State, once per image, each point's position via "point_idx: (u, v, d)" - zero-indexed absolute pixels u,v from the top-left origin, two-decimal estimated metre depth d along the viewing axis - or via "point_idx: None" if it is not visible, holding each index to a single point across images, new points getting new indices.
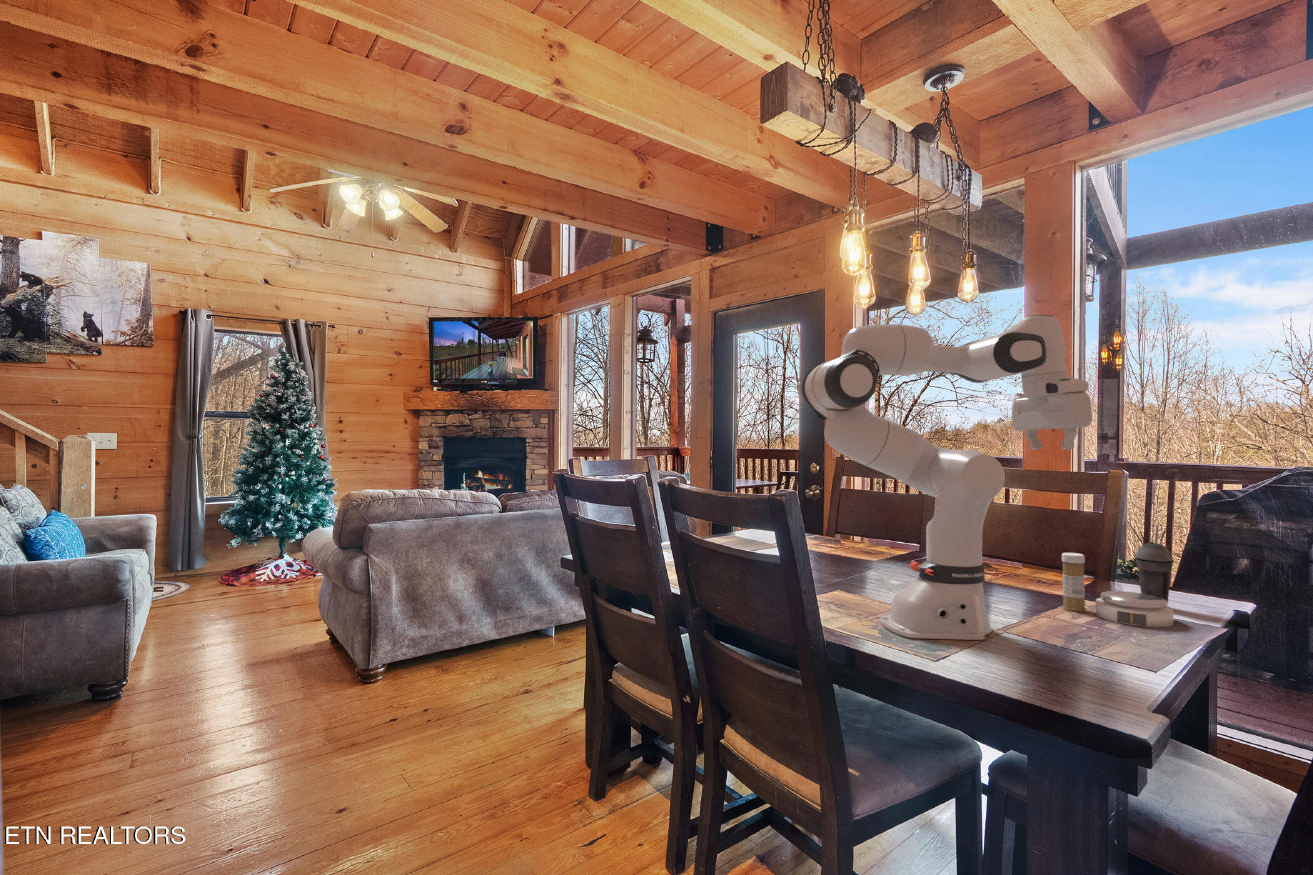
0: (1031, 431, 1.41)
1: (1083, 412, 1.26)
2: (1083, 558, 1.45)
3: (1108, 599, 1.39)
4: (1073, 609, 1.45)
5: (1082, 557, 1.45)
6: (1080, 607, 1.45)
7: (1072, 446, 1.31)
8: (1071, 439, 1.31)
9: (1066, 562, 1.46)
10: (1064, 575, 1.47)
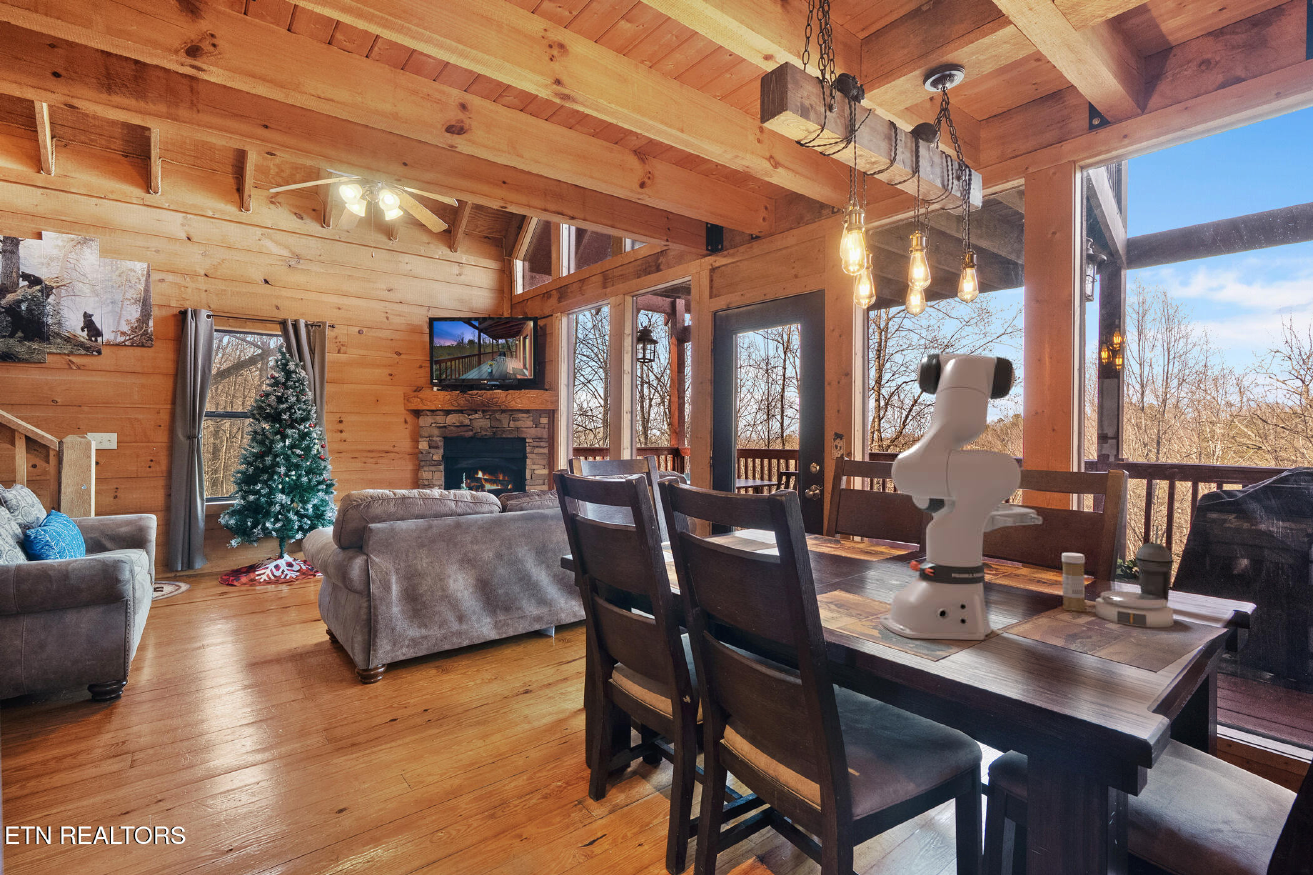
0: None
1: None
2: (1083, 558, 1.45)
3: (1108, 599, 1.39)
4: (1073, 609, 1.45)
5: (1082, 557, 1.45)
6: (1080, 607, 1.45)
7: None
8: None
9: (1066, 562, 1.46)
10: (1064, 575, 1.47)
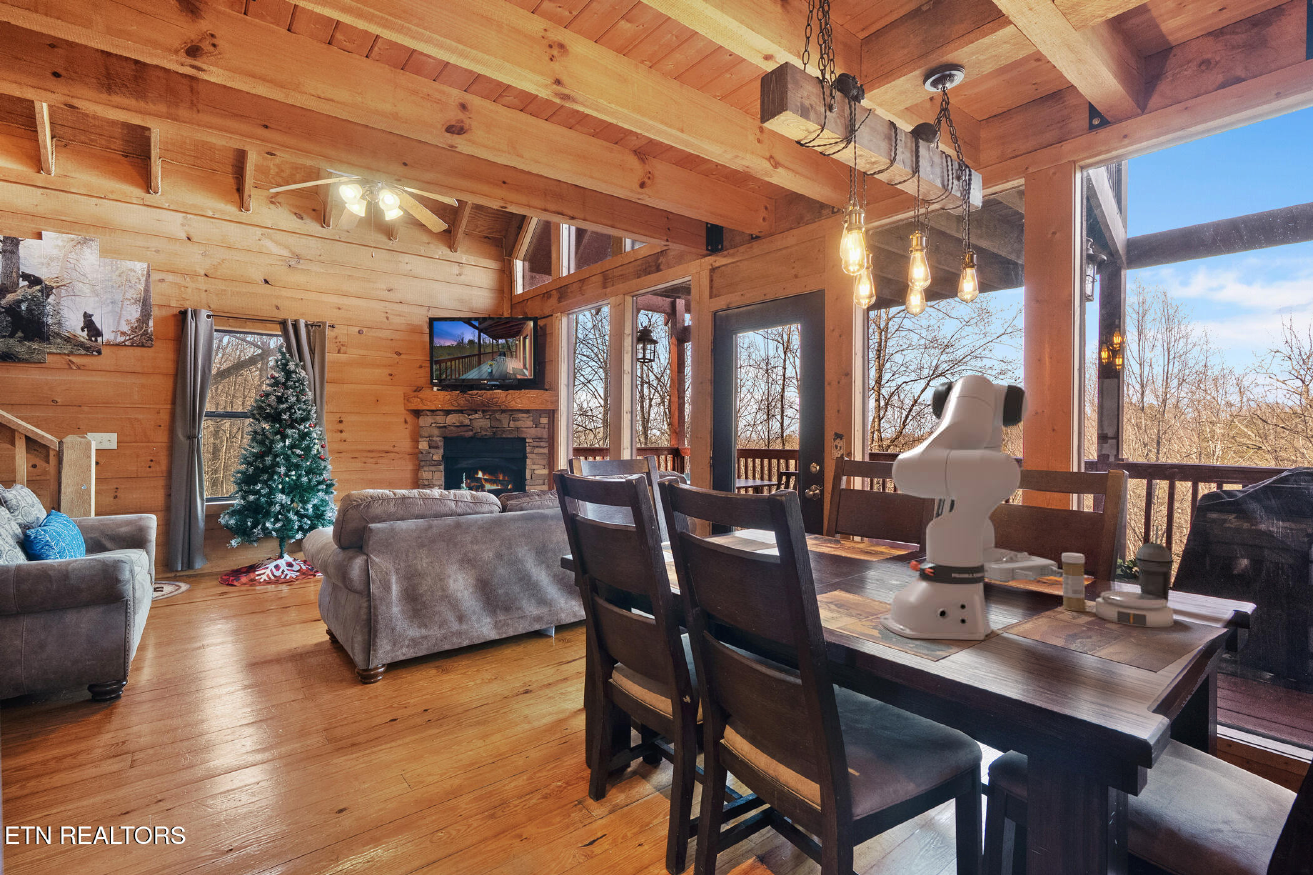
0: None
1: None
2: (1083, 558, 1.45)
3: (1108, 599, 1.39)
4: (1073, 609, 1.45)
5: (1082, 557, 1.45)
6: (1080, 607, 1.45)
7: None
8: None
9: (1066, 562, 1.46)
10: (1064, 575, 1.47)
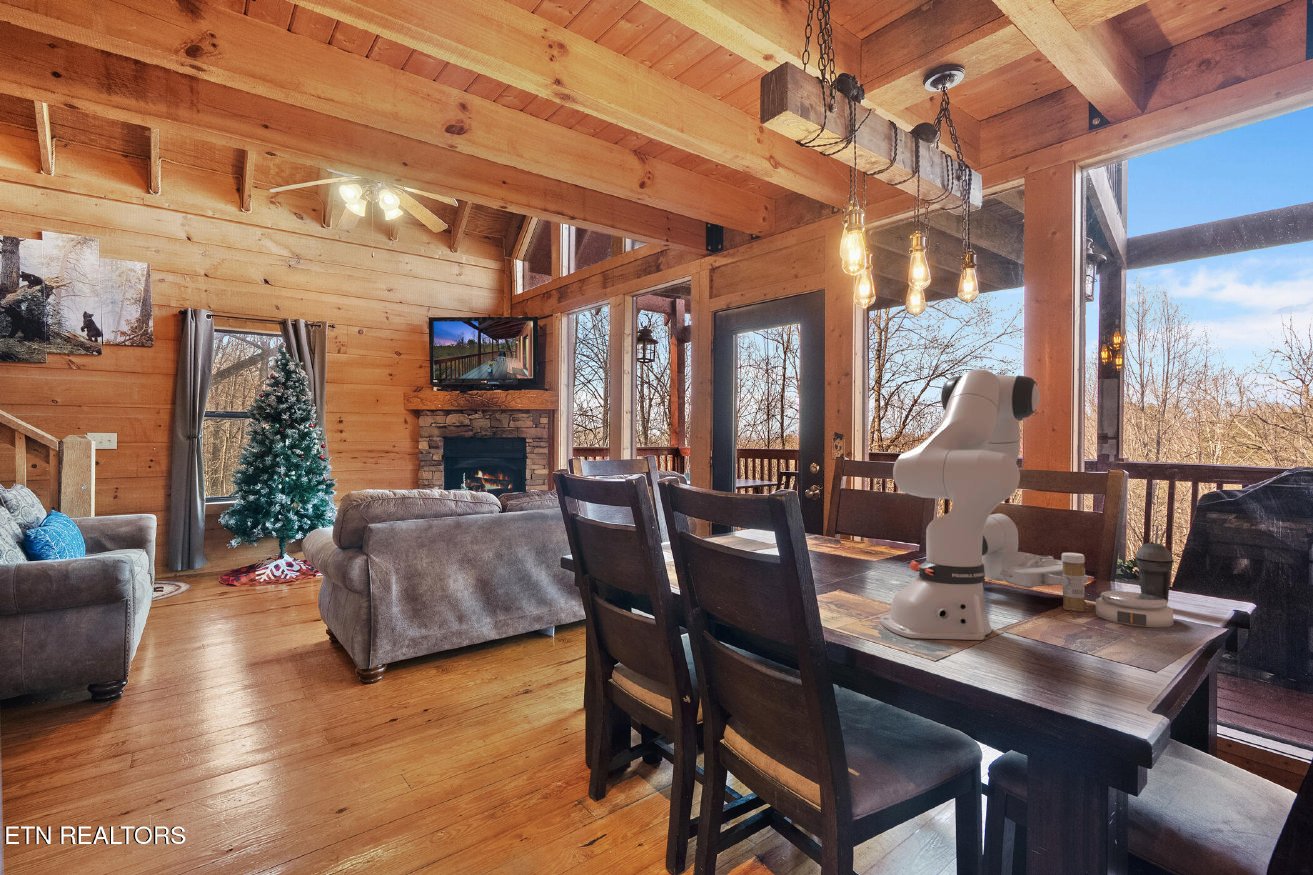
0: None
1: None
2: (1083, 558, 1.45)
3: (1108, 599, 1.39)
4: (1073, 609, 1.45)
5: (1082, 557, 1.45)
6: (1080, 607, 1.45)
7: None
8: None
9: (1066, 562, 1.46)
10: (1064, 575, 1.47)
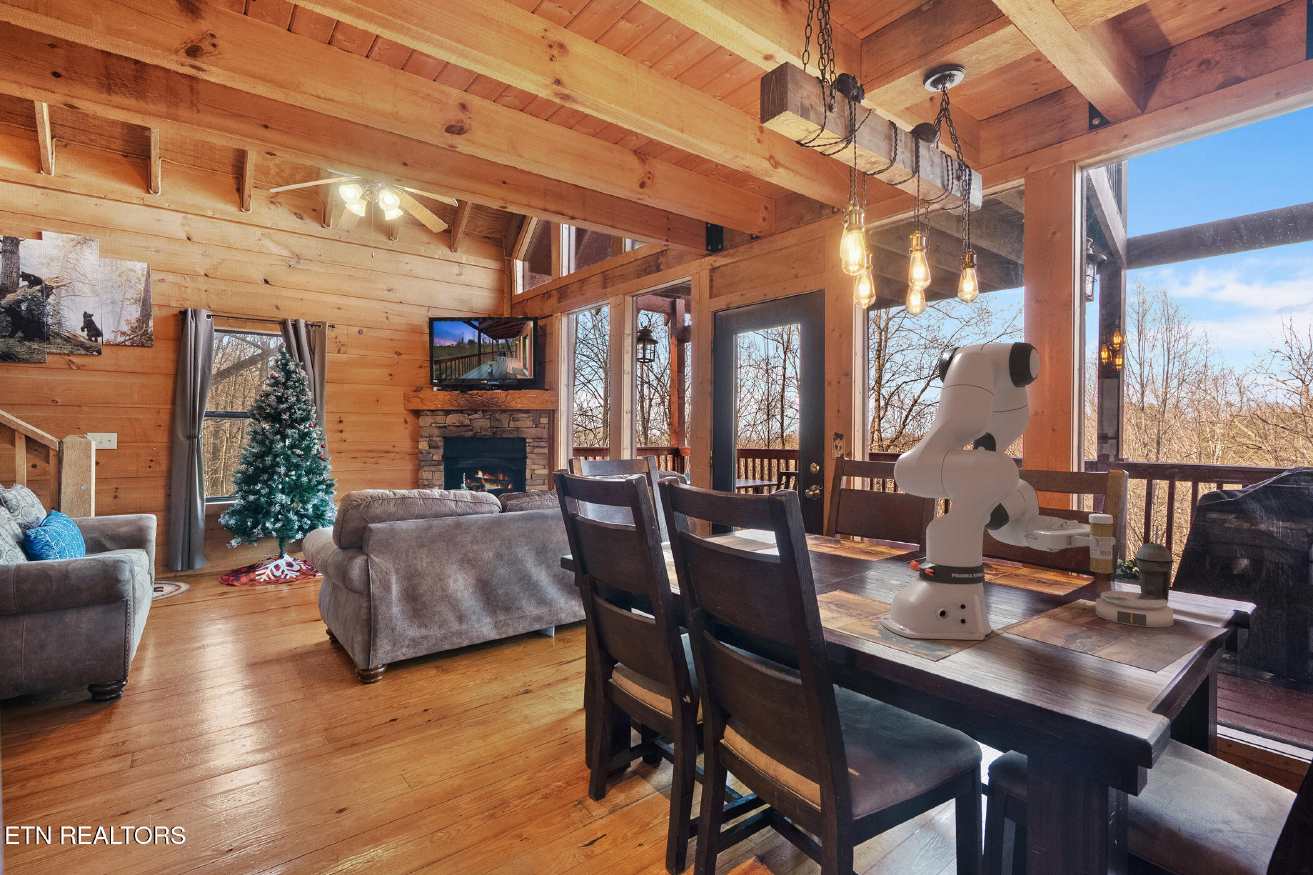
0: None
1: None
2: (1111, 518, 1.42)
3: (1108, 599, 1.39)
4: (1101, 571, 1.42)
5: (1110, 517, 1.42)
6: (1108, 568, 1.42)
7: None
8: None
9: (1094, 523, 1.43)
10: (1091, 536, 1.44)
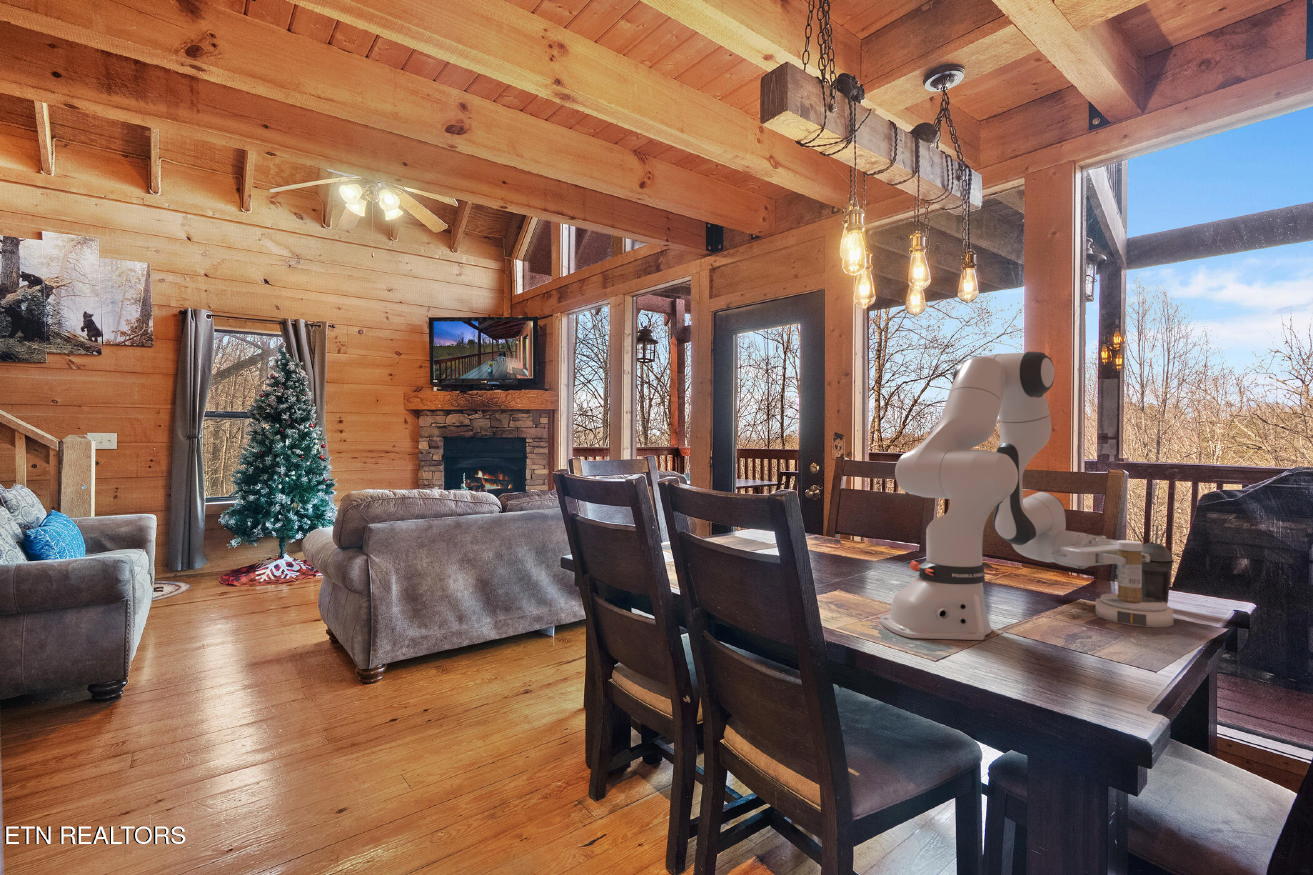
0: None
1: None
2: (1141, 546, 1.38)
3: (1108, 601, 1.39)
4: (1130, 599, 1.38)
5: (1140, 545, 1.37)
6: (1137, 597, 1.37)
7: None
8: None
9: (1123, 550, 1.39)
10: None
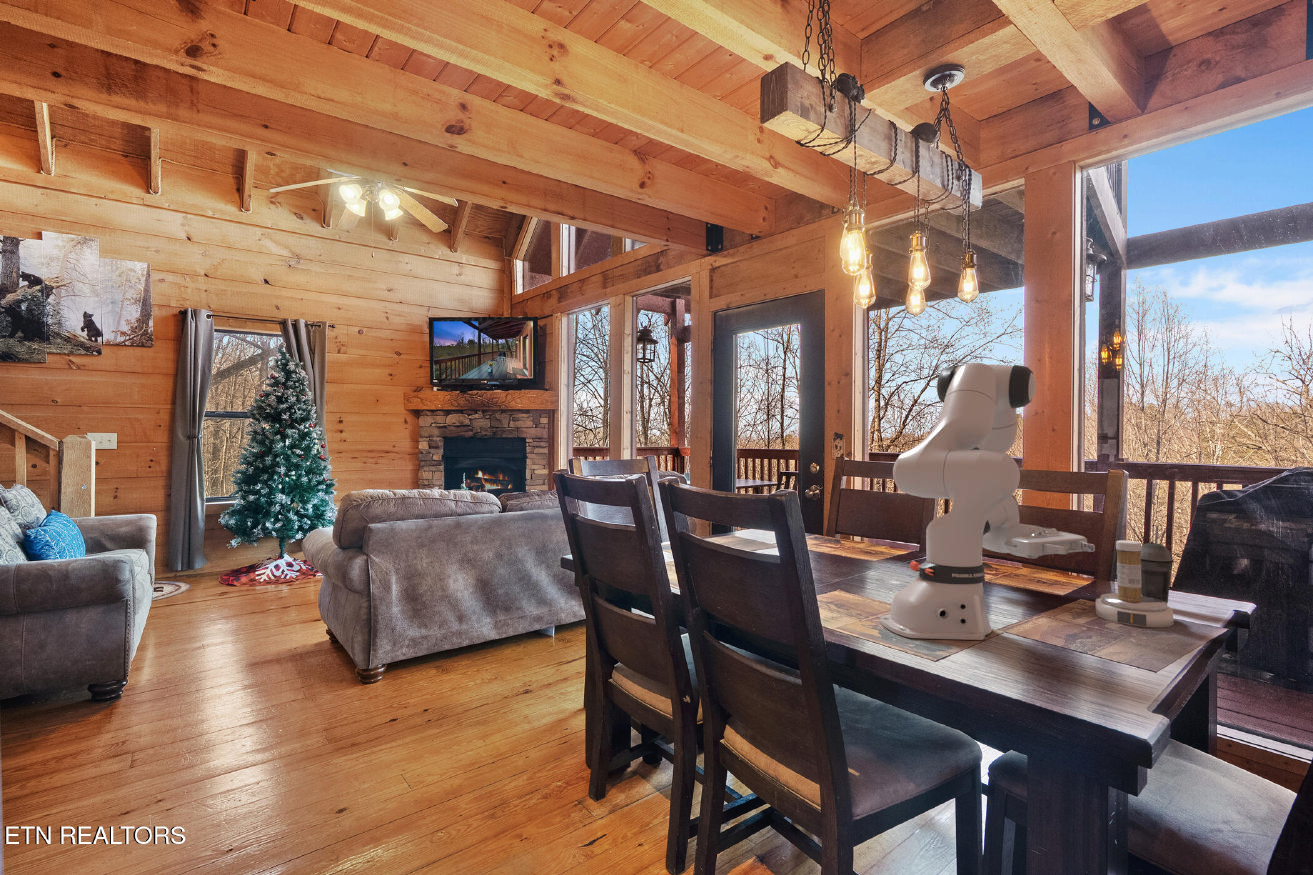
0: None
1: None
2: (1140, 546, 1.38)
3: (1108, 601, 1.39)
4: (1130, 600, 1.38)
5: (1139, 545, 1.37)
6: (1137, 597, 1.37)
7: None
8: None
9: (1122, 550, 1.39)
10: (1119, 564, 1.39)
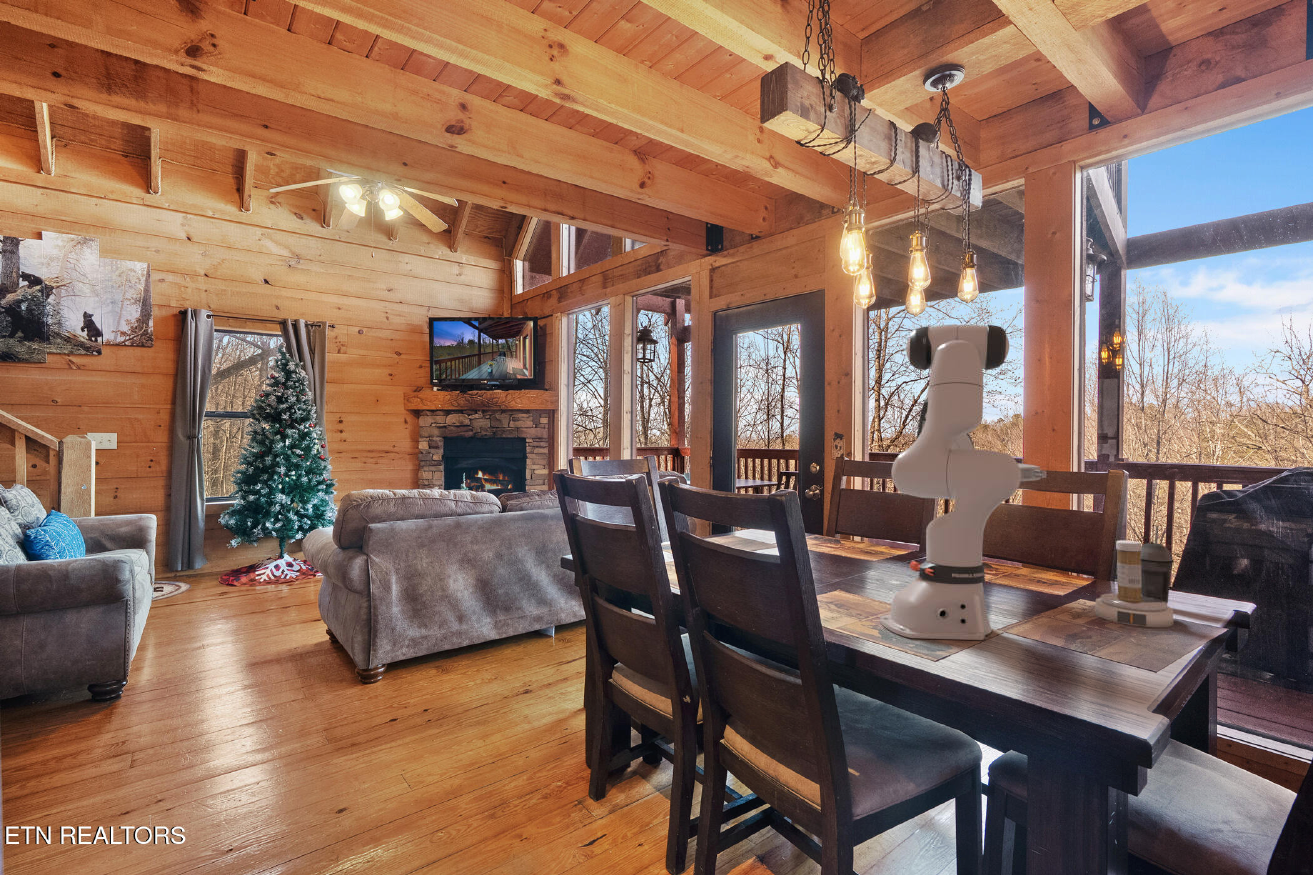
0: None
1: None
2: (1140, 546, 1.38)
3: (1108, 601, 1.39)
4: (1130, 600, 1.38)
5: (1139, 545, 1.37)
6: (1137, 597, 1.37)
7: None
8: None
9: (1122, 550, 1.39)
10: (1119, 564, 1.39)
